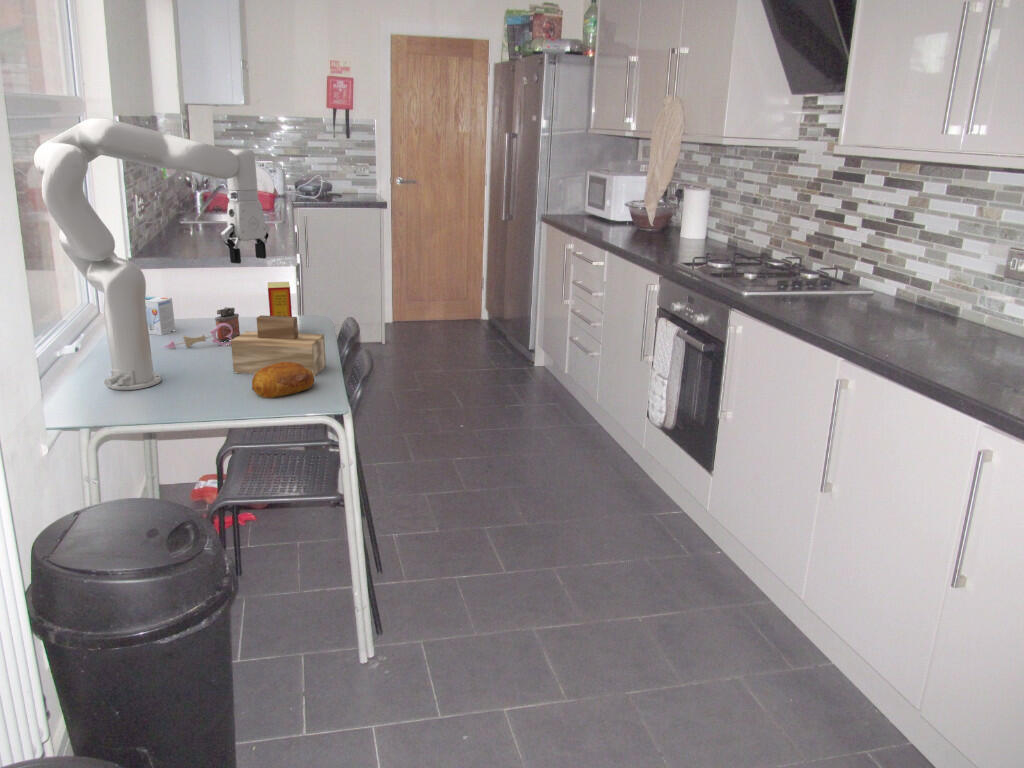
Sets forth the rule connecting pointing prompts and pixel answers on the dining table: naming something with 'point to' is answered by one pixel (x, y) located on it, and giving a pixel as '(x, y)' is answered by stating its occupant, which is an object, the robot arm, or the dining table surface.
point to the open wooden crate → (277, 357)
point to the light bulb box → (159, 315)
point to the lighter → (229, 318)
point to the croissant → (282, 379)
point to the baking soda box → (279, 299)
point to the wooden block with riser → (277, 333)
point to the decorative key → (202, 338)
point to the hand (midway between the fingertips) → (248, 260)
